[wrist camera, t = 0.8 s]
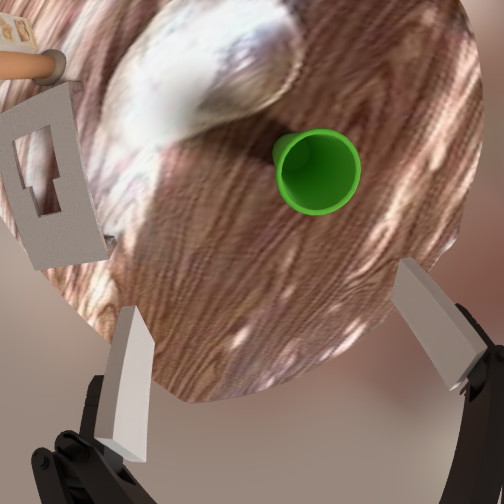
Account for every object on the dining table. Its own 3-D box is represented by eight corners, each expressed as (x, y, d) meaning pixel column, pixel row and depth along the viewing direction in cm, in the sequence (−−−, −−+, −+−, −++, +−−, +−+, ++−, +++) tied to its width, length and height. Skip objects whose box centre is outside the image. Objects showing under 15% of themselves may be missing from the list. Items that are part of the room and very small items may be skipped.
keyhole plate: (8, 115, 25) (-9, 119, 21) (83, 81, 26) (68, 81, 22) (46, 255, 37) (35, 270, 33) (116, 243, 38) (108, 259, 35)
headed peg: (35, 58, 22) (-34, 56, 9) (65, 44, 22) (-1, 31, 9) (37, 90, 24) (-34, 101, 12) (67, 78, 25) (-2, 78, 12)
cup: (328, 173, 38) (366, 201, 28) (267, 192, 38) (288, 227, 29) (314, 111, 33) (353, 119, 24) (248, 130, 33) (264, 143, 24)
